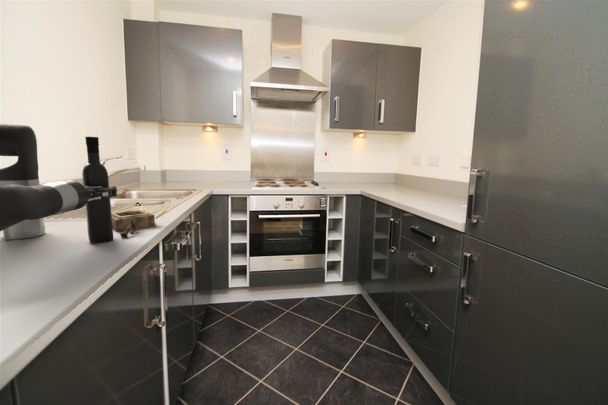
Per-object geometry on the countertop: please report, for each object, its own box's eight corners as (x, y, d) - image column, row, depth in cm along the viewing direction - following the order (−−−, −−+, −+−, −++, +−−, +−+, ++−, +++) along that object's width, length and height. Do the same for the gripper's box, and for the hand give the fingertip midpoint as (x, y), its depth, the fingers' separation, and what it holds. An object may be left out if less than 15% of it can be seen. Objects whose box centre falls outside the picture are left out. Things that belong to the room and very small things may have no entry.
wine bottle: (88, 239, 86) (78, 136, 82) (111, 236, 90) (102, 137, 85) (90, 244, 82) (79, 135, 77) (114, 241, 86) (105, 137, 81)
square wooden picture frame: (116, 231, 96) (115, 218, 95) (106, 225, 104) (105, 212, 103) (154, 226, 104) (154, 213, 104) (143, 220, 112) (142, 208, 112)
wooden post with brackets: (140, 228, 98) (136, 217, 95) (129, 244, 91) (125, 232, 89) (134, 228, 97) (130, 217, 95) (123, 244, 91) (119, 232, 88)
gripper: (91, 182, 69) (124, 177, 85) (24, 181, 68) (71, 176, 83) (94, 213, 70) (126, 202, 86) (29, 213, 69) (74, 202, 85)
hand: (99, 189), depth 85 cm, fingers open, 8 cm apart
